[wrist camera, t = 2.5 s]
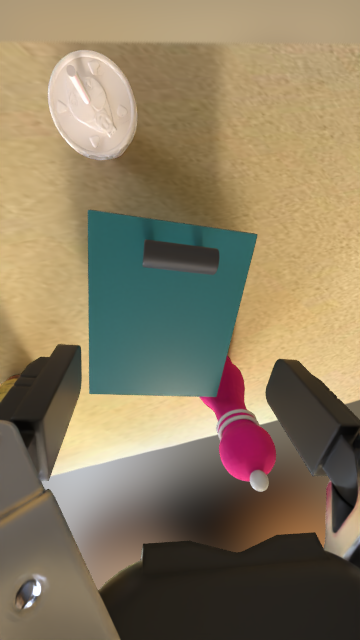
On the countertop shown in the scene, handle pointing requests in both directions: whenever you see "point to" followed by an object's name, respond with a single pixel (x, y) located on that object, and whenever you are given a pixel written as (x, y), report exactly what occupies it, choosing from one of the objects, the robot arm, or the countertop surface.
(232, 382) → the pepper mill
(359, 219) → the countertop surface
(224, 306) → the lid
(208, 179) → the countertop surface
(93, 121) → the smoothie
